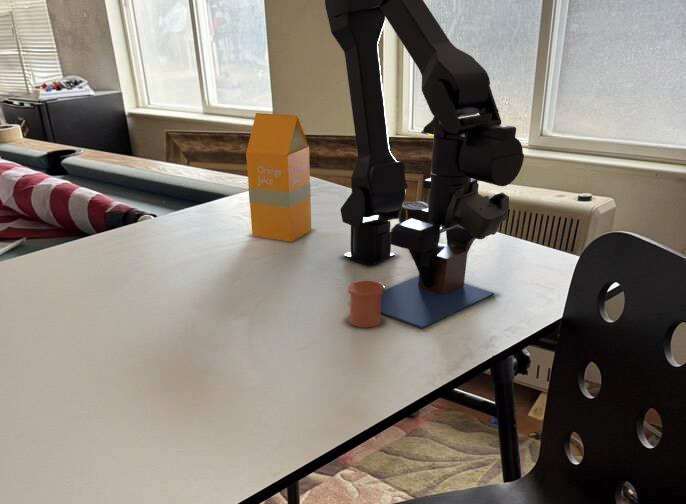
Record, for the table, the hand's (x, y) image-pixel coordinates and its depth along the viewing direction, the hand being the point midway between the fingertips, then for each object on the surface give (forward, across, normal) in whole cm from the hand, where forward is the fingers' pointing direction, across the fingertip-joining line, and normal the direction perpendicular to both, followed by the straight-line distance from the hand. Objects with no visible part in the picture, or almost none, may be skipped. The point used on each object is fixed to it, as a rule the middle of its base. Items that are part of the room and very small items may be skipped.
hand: (441, 281), depth 107 cm
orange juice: (+1, +2, +40) cm, 40 cm away
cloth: (+1, -5, -1) cm, 5 cm away
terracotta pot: (+1, -17, 0) cm, 17 cm away
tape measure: (+1, +23, +24) cm, 33 cm away
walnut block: (+1, 0, 0) cm, 1 cm away
